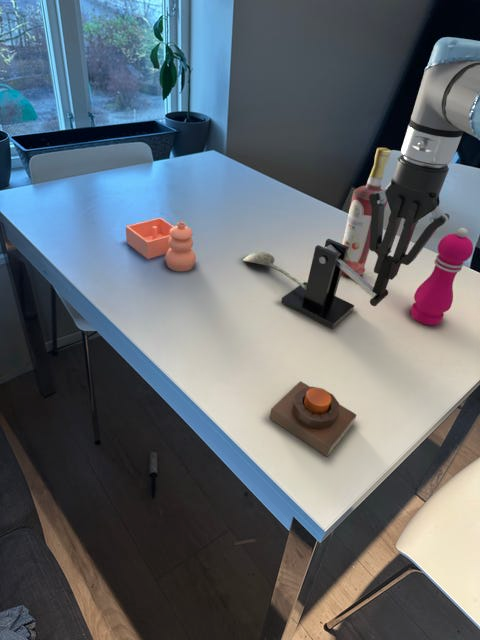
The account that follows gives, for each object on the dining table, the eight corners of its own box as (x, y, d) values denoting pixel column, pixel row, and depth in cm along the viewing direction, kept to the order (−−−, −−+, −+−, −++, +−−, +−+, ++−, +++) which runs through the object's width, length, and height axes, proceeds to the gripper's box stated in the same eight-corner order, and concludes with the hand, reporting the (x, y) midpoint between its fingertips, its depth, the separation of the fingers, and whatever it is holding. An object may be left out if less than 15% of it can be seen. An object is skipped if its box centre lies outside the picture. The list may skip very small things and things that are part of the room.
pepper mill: (410, 323, 90) (447, 233, 78) (405, 303, 96) (440, 217, 84) (446, 330, 90) (490, 240, 78) (439, 309, 95) (479, 223, 83)
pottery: (126, 242, 105) (124, 202, 99) (160, 233, 110) (160, 195, 104) (170, 277, 95) (171, 235, 89) (205, 265, 100) (208, 224, 94)
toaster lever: (384, 298, 84) (391, 290, 82) (372, 309, 81) (380, 300, 79) (327, 250, 87) (334, 241, 85) (314, 259, 84) (321, 249, 82)
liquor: (371, 276, 104) (410, 154, 87) (347, 283, 100) (384, 156, 83) (350, 261, 108) (383, 142, 92) (326, 267, 105) (357, 145, 88)
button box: (353, 424, 67) (360, 406, 65) (327, 457, 62) (333, 439, 60) (297, 390, 72) (302, 372, 69) (269, 418, 67) (273, 400, 64)
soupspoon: (260, 256, 107) (237, 264, 104) (260, 243, 105) (237, 251, 102) (324, 294, 92) (300, 304, 89) (326, 279, 90) (301, 289, 87)
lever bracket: (353, 310, 92) (371, 250, 84) (331, 329, 86) (349, 267, 78) (303, 286, 97) (317, 228, 89) (280, 302, 91) (292, 242, 83)
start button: (333, 404, 65) (335, 396, 64) (320, 418, 63) (323, 410, 62) (312, 391, 67) (314, 383, 66) (299, 405, 64) (301, 396, 63)
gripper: (374, 152, 67) (337, 283, 82) (460, 178, 62) (404, 314, 76) (394, 144, 72) (356, 269, 87) (475, 167, 67) (420, 297, 81)
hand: (378, 290), depth 81 cm, fingers closed
